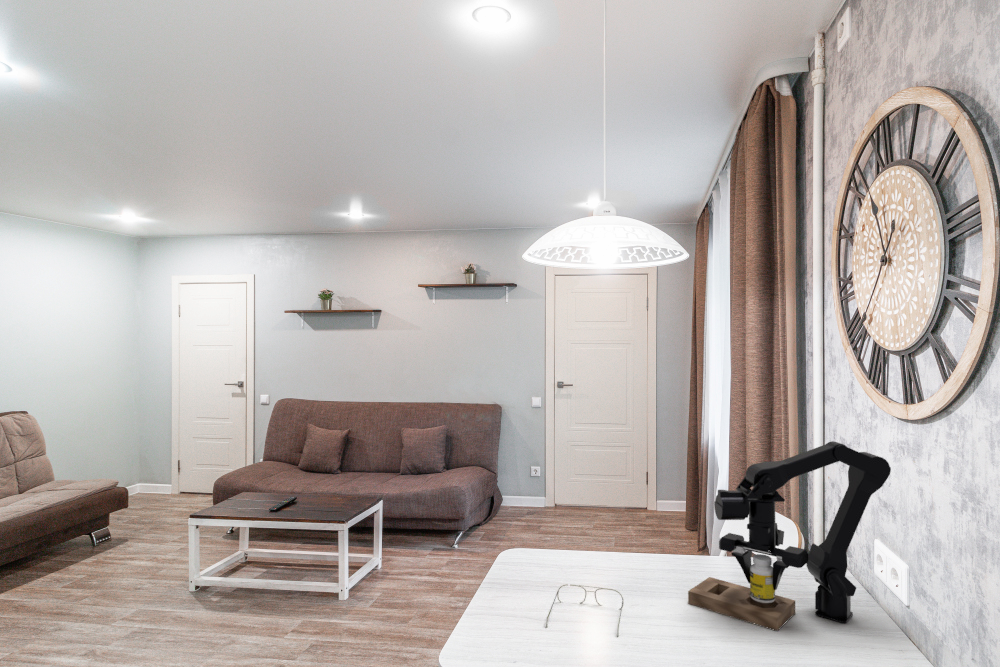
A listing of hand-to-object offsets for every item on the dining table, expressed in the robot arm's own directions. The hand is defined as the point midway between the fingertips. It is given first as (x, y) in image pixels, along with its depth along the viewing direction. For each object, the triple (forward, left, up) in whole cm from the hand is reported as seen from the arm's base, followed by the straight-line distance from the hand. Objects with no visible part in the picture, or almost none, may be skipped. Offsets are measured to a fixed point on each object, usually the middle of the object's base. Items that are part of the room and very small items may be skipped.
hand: (762, 586), depth 145 cm
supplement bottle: (0, 0, -3) cm, 3 cm away
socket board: (+5, 0, -7) cm, 8 cm away
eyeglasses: (+30, +29, -7) cm, 42 cm away
